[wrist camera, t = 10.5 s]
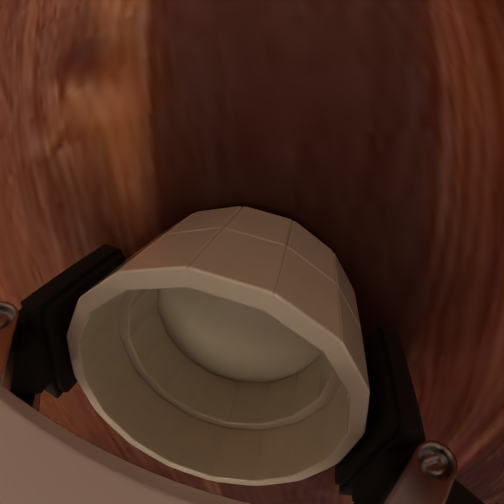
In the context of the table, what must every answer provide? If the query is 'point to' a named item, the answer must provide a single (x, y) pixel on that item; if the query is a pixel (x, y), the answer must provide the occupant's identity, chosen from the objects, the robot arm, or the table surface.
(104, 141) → the table surface
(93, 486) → the robot arm
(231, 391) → the bowl
